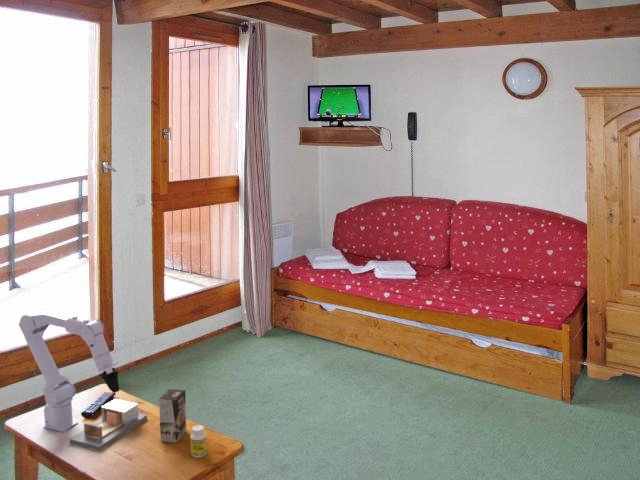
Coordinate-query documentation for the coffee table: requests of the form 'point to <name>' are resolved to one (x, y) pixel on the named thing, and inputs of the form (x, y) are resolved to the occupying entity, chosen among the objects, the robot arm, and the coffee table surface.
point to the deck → (108, 439)
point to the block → (113, 417)
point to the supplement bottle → (198, 441)
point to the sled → (99, 429)
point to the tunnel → (121, 410)
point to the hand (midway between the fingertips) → (115, 390)
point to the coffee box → (172, 415)
